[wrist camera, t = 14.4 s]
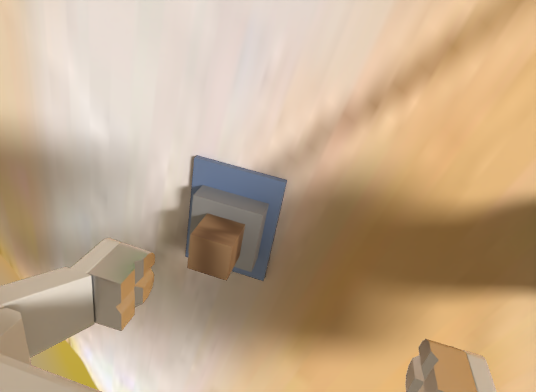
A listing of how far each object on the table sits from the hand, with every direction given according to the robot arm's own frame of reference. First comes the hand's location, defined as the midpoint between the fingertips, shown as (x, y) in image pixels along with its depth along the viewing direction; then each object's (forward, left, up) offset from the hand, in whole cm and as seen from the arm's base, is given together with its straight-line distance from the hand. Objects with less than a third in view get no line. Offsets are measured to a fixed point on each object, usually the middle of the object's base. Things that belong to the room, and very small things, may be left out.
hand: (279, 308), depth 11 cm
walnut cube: (+10, +20, -29) cm, 37 cm away
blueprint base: (+10, +20, -33) cm, 40 cm away
